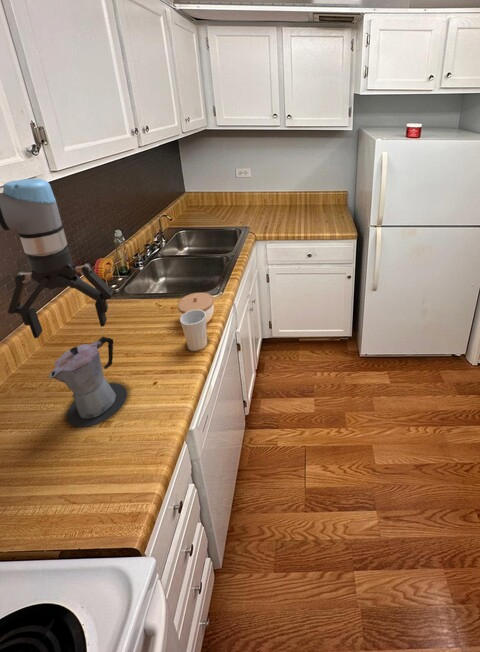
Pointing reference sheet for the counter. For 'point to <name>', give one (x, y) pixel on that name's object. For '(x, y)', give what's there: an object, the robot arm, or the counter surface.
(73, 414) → the trivet
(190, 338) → the cup
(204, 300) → the lidded bowl
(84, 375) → the moka pot
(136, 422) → the counter surface
